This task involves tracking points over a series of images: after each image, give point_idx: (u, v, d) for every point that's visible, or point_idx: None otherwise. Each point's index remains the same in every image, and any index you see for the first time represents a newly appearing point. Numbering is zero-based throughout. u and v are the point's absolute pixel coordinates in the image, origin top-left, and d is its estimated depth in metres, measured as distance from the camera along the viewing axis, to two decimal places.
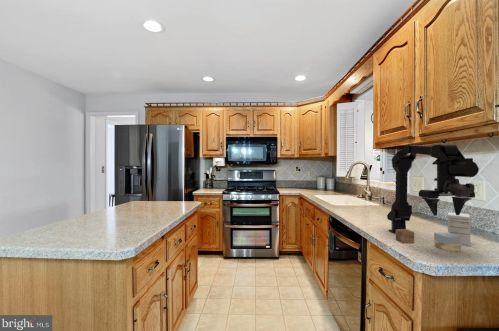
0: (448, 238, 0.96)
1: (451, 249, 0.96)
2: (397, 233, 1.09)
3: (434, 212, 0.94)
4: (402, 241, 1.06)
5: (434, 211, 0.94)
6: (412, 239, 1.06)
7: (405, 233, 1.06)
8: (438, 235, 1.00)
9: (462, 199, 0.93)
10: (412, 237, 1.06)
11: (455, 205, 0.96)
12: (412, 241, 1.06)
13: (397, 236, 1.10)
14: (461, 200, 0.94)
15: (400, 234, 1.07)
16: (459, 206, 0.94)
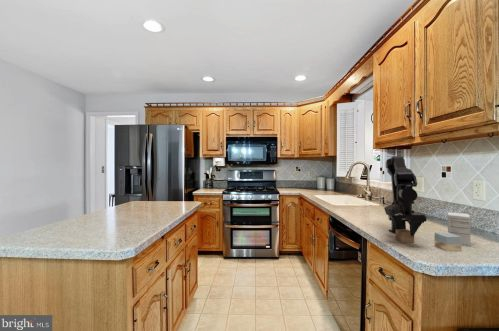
0: (448, 238, 0.96)
1: (451, 249, 0.96)
2: (397, 233, 1.09)
3: None
4: (402, 241, 1.06)
5: None
6: (412, 239, 1.06)
7: (405, 233, 1.06)
8: (438, 235, 1.00)
9: None
10: (412, 237, 1.06)
11: None
12: (412, 241, 1.06)
13: (397, 236, 1.10)
14: None
15: (400, 234, 1.07)
16: None
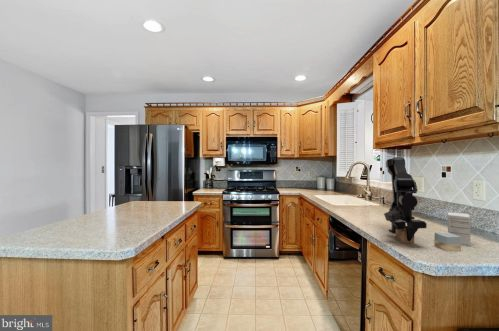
0: (448, 238, 0.96)
1: (451, 249, 0.96)
2: (397, 233, 1.10)
3: None
4: (402, 241, 1.06)
5: None
6: (412, 239, 1.06)
7: (405, 233, 1.06)
8: (438, 235, 1.00)
9: None
10: None
11: None
12: (412, 241, 1.06)
13: (397, 236, 1.10)
14: None
15: (400, 234, 1.07)
16: None
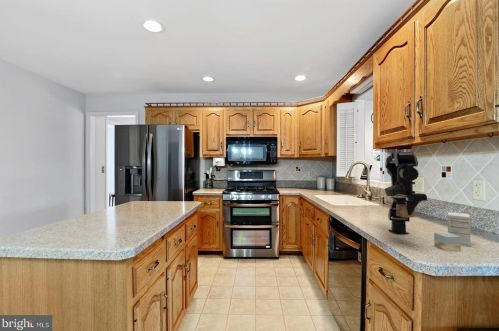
0: (448, 238, 0.96)
1: (451, 249, 0.96)
2: (397, 208, 1.09)
3: None
4: (402, 215, 1.06)
5: None
6: (412, 213, 1.06)
7: (405, 207, 1.06)
8: (438, 235, 1.00)
9: None
10: None
11: None
12: (412, 215, 1.06)
13: (397, 211, 1.10)
14: None
15: (401, 209, 1.07)
16: None
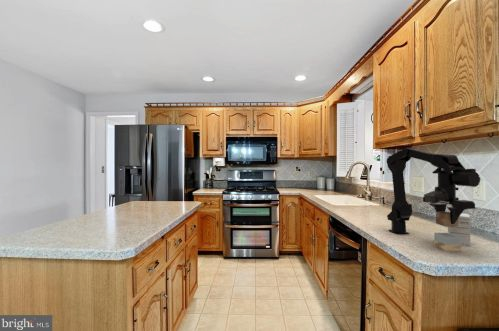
0: (448, 238, 0.96)
1: (451, 249, 0.96)
2: (438, 216, 1.00)
3: None
4: (445, 224, 0.97)
5: None
6: (456, 222, 0.97)
7: (448, 215, 0.97)
8: (438, 235, 1.00)
9: None
10: None
11: None
12: (456, 224, 0.97)
13: (437, 219, 1.00)
14: None
15: (442, 217, 0.98)
16: None
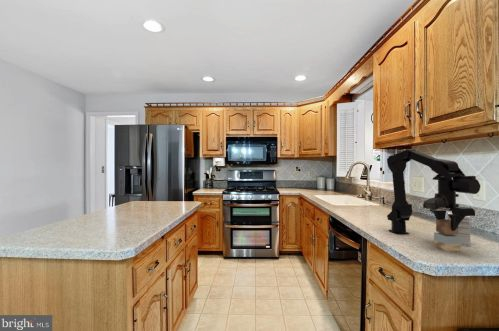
0: (448, 238, 0.96)
1: (451, 249, 0.96)
2: (438, 224, 1.00)
3: None
4: (445, 232, 0.97)
5: None
6: (456, 230, 0.97)
7: (448, 223, 0.96)
8: (438, 235, 1.00)
9: None
10: (456, 228, 0.97)
11: None
12: (456, 232, 0.97)
13: (438, 227, 1.00)
14: None
15: (442, 225, 0.98)
16: None
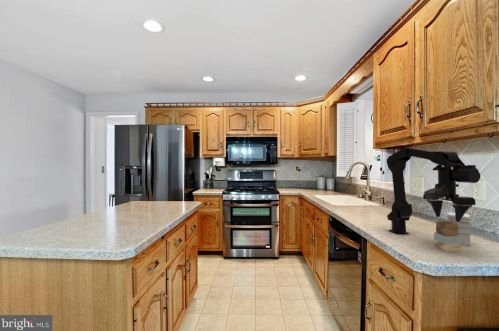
0: (448, 238, 0.96)
1: (451, 249, 0.96)
2: (438, 225, 1.00)
3: None
4: (445, 233, 0.97)
5: None
6: (456, 231, 0.97)
7: (448, 225, 0.97)
8: (438, 235, 1.00)
9: None
10: (456, 229, 0.97)
11: None
12: (456, 233, 0.97)
13: (437, 228, 1.01)
14: None
15: (442, 226, 0.98)
16: None
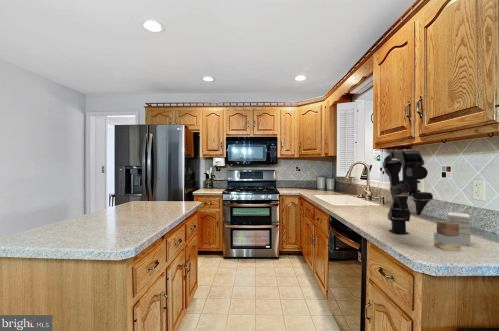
0: (448, 238, 0.96)
1: (450, 249, 0.96)
2: (439, 225, 1.00)
3: None
4: (445, 234, 0.97)
5: None
6: (457, 232, 0.96)
7: (449, 225, 0.96)
8: (438, 235, 1.00)
9: None
10: (457, 229, 0.96)
11: None
12: (457, 234, 0.96)
13: (438, 229, 1.00)
14: None
15: (443, 226, 0.98)
16: None
